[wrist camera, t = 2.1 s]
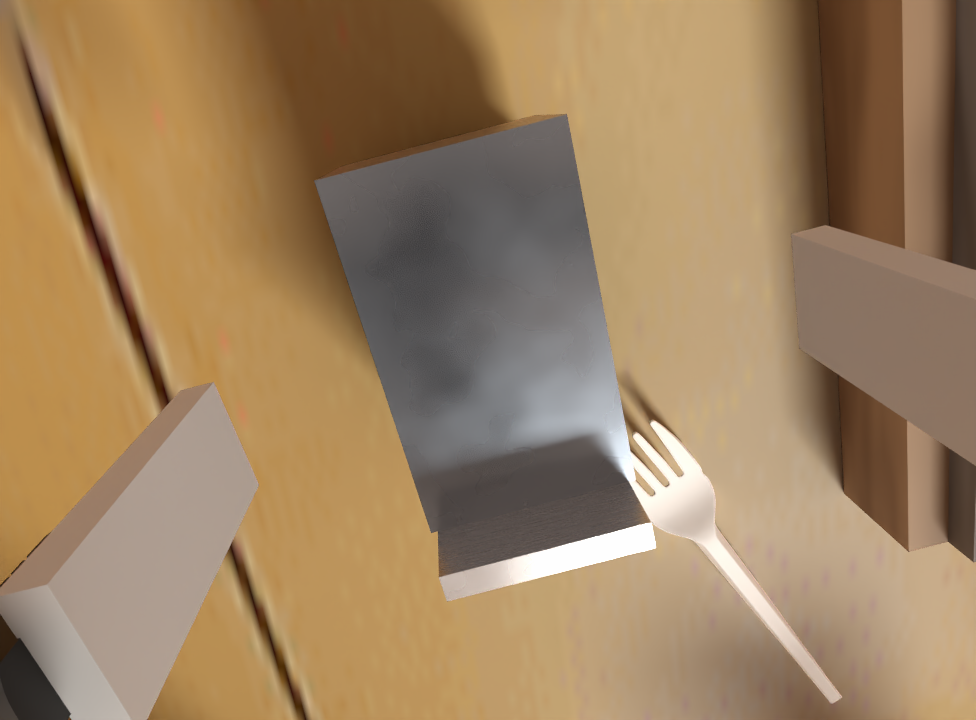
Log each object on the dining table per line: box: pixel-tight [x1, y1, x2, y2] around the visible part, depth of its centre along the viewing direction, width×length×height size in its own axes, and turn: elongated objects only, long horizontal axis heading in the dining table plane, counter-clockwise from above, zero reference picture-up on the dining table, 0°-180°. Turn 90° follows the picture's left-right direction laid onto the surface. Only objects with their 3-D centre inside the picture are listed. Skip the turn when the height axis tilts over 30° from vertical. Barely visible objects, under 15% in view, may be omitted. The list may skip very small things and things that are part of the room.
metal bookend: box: [314, 114, 656, 601], centre depth 19 cm, size 6×11×9 cm, turn 14°
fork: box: [629, 420, 842, 704], centre depth 29 cm, size 3×20×2 cm, turn 38°
